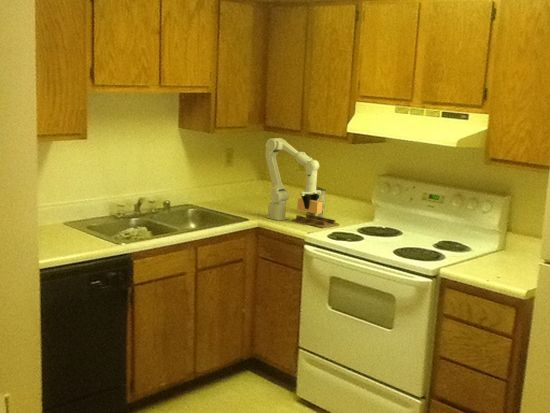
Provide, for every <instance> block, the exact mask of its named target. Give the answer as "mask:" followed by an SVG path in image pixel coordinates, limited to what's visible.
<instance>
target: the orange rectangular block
mask: <svg viewBox="0 0 550 413" xmlns="http://www.w3.org/2000/svg"><path fill="white" fill-rule="evenodd" d="M322 203H323V202H320V201H315V200H310V203H309V209H305V206H304V202H303V199H302V197H299V198H297V208H296V209H297V210H298V211H302V212H306V213H307V212H310V213H315V214H320V213H322Z"/></svg>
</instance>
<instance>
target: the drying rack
mask: <svg viewBox="0 0 550 413" xmlns="http://www.w3.org/2000/svg"><path fill="white" fill-rule="evenodd" d="M293 221H295V223H299V224H301V225H307V226H311V227H314V228H319V229H328V228H333V227H339V226H341V225H340V223H337V222H336V219H332V218H328V217H325V216H324V217H319V216H315V215H311V214H307V213H306V214H305V216H302V215H299V214H298V215H296V216H295V218H292V219H291V222H293Z"/></svg>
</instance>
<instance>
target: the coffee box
mask: <svg viewBox="0 0 550 413" xmlns="http://www.w3.org/2000/svg"><path fill="white" fill-rule="evenodd" d="M316 190H321V194H317V195H319V198H318V199H317V201H320V202H323V203H322V213H320V214H315V213H310V212H306V214H311V215H315V216H319V217H324V218H325V210H326V208H325V207H326V198H327V196H326V195H327V189H325V188H321V187H319V186H316Z"/></svg>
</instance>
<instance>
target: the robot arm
mask: <svg viewBox="0 0 550 413" xmlns="http://www.w3.org/2000/svg"><path fill="white" fill-rule="evenodd" d="M264 145H265V154H264V156H265V160H266V161H265V162H266V165H267V169H268V173H269V178H270V182H271V186H272V187H271V188H270V201H271V202H269V204H268V205H267V206H268V207H267V216H266V218H267V219H271V220H275V221H285V220H289V218H288V217H286V208H287V201H288V200H289V197H290V194H289V192H288V191H287V188H286V186H285V185H284V184H283V182H282V178H281V173H280V170H279V166H278V162H277V155H278V154H279V152H280V151H284V152H287V153H288V154H289V155H291V156H292V157H294V158H295V161H296V162H297V163H298V164H300V165H301V166H302V167H303V168H304V170H305V174H306V175H305V189H304V190H303V191H299V196H300V198H302V199H303V202H304V206H305V209H309V203H310V200H315V201H317V199H318V198H319V195H317V194H321V190H316V187H317V180H318V170H319V169H320V166H321V165H320V162H319V160H317V159H313V157H310V156H309V155H307V154H306V152H304V151H298V150H297V149H296V148H295V147H293V146H292V145H291V144H290V143H288V142H287V140H286V139H284V138H282V137H278V138H277V137H276V138H275V137H274V138H271V137H270V138H269V139H267V140H266V142H265V144H264Z"/></svg>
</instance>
